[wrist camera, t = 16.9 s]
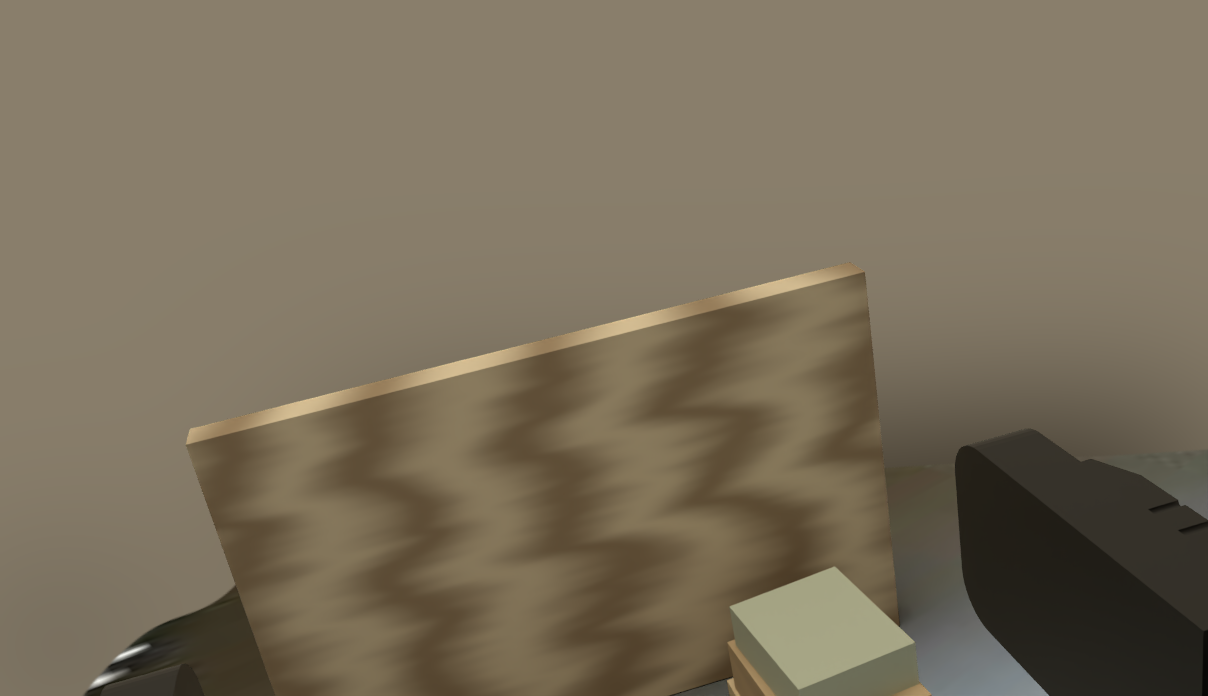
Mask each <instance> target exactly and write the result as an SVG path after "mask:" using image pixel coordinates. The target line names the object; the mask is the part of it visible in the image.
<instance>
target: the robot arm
mask: <svg viewBox="0 0 1208 696" xmlns="http://www.w3.org/2000/svg"><path fill="white" fill-rule="evenodd" d="M955 476H956V490H957V504H958V518H959V531H960V545H961V559H962V571H963V578H964V583H965V586H966V590H967V593H968V596H969V599H970V601H971V603H972V606H973V608H974V610H975V612H976V614H977V616H978V617H979V619H980V621H981V622H982V623H983V625H984V626H985V628H986V629H987V630H988V631H989V632H990V633H991V634H992V635H993V636H994V637H995V639H996V640H997V641H998V642H999V643H1000V644H1001V645H1002V646H1003V647H1004V648H1005V649H1006V650H1007V651H1008V652H1009V653H1010V654H1011V655H1012V657H1013V658H1014V659H1015V660H1016V661H1017V662H1018V663H1019V664H1020V665H1021V666H1022V667H1023V668H1024V669H1025V670H1026V671H1027V672H1028V674H1029V675H1030V676H1031V677H1032V678H1033V679H1034V680H1035V681H1036V682H1037V683H1038V684H1039V685H1040V686H1041V687H1042V688H1043V689H1044V690H1045V692H1046V693H1047V694H1048V695H1049V696H1208V520H1207V519H1205V518H1204V517H1202V516H1201V515H1199V514H1198V513H1196V512H1195V511H1193V510H1192V509H1191V508H1189V507H1188V506H1186V505H1184V506H1180V505H1179V503H1178V500H1177V499H1176V498H1174V497H1173V496H1171V495H1170V494H1168V493H1167V492H1165V491H1164V490H1162V489H1161V488H1159V487H1158V486H1156V485H1155V484H1153V483H1152V482H1150V481H1149V480H1147V479H1146V478H1144V477H1143V476H1141V475H1139V474H1136V473H1132V472H1129V471H1126V470H1123V469H1120V468H1117V467H1114V466H1111V465H1108V464H1105V463H1102V462H1099V461H1096V460H1093V459H1089V460H1086V461H1082V462H1080V461H1079V460H1077V459H1076V458H1075V457H1073V456H1072V455H1070V454H1069V453H1067V452H1066V451H1064V450H1063V449H1062V448H1060V447H1059V446H1057V445H1056V444H1055V443H1053V442H1052V441H1050V440H1049V439H1048V438H1046V437H1045V436H1043V435H1042V434H1040V433H1039V432H1037V431H1036V430H1033V429H1023V430H1019V431H1016V432H1012V433H1009V434H1005V435H1002V436H998V437H994V438H991V439H988V440H984V441H981V442H977V443H973V444H970V445H966V446H963V447H961V448H960V449H959V451H958V453H957V456H956V461H955ZM100 696H204V693H203V691H202V688H201V685H200V683H199V681H198V678H197V676H196V675H195V673H194V671H193V670H192V668H191V667H190V666H189V665H187V664H181V665H177V666H174V667H170V668H167V669H163V670H160V671H156V672H153V673H149V674H145V675H142V676H138V677H135V678H131V679H128V680H124V681H121V682H117V683H113V684H110V685H107V686H106V687H104V689H103V690H102V693H101V695H100Z"/></svg>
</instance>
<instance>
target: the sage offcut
mask: <svg viewBox="0 0 1208 696" xmlns="http://www.w3.org/2000/svg"><path fill="white" fill-rule="evenodd" d="M729 608H730V614H731V620H732V626H733V631H734V637H735V643H736V646H737V647H738V649H739V650H740V651H741V652H742V654H743V655H744V656H745V657H746V659H747V660H748V661H749V662H750V664H751V665H752V666H753V668H754V669H755V670H756V671H757V673H758V674H759V675H760V676H761V678H762V679H763V680H764V681H765V683H766V684H767V685H768V686H769V688H770V689H771V690H772V691H773V693H774V694H775V695H776V696H891V695H894V694H896V693H898V692H901V691H903V690H905V689H908V688H910V687H913V686H915V685H917V684H919V677H918V666H917V656H916V646H915V642H914V641H913V640H912V639H911V638H910V637H909V636H908V635H907V634H906V633H905V632H904V631H903V630H902V629H900V628H899V627H898V626H897V625H896V624H895V623H894V622H893V621H892V620H891V619H890V618H889V617H888V616H887V615H886V614H885V613H884V612H882V611H881V610H880V609H879V608H878V607H877V606H876V605H875V604H874V603H873V602H872V601H871V600H870V599H869V598H868V597H867V596H866V595H865V594H863V593H862V592H861V591H860V590H859V589H858V588H857V587H856V586H855V585H854V584H853V583H852V582H851V581H850V580H849V579H848V578H847V577H845V576H844V575H843V574H842V573H841V572H840V571H839V570H838V569H837V568H836V567H832V568H829V569H827V570H824V571H821V572H819V573H816V574H814V575H811V576H808V577H806V578H803V579H800V580H798V581H795V582H793V583H790V584H787V585H785V586H782V587H779V588H777V589H774V590H772V591H769V592H766V593H764V594H761V595H758V596H756V597H753V598H751V599H748V600H745V601H743V602H740V603H737V604H735V605H732V606H729Z"/></svg>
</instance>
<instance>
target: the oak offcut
mask: <svg viewBox="0 0 1208 696" xmlns="http://www.w3.org/2000/svg"><path fill="white" fill-rule="evenodd" d="M727 645H728V651H729V656H730V662H731V667H732V673H733V678H734V684H735V689H736V690H737V692H738V693H739V695H740V696H776V695H775V694H774V693H773V691H772V690H771V689H770V688H769V686H768V685H767V684H766V683H765V681H764V680H763V679H762V678H761V676H760V675H759V674H758V673H757V671H756V670H755V669H754V668H753V666H752V665H751V664H750V662H749V661H748V660H747V659H746V657H745V656H744V655H743V654H742V652H741V651H740V650H739V649H738V647H737V646H736V643H735V640H732V641H729V642H727ZM891 696H931V694H930V693H929V692H928V691H927V689H926V688H925V687H924V686H923V685H922V684H921V683H920V682H919V684H917V685H915V686H913V687H910V688H908V689H905V690H903V691H901V692H898V693H896V694H894V695H891Z"/></svg>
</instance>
